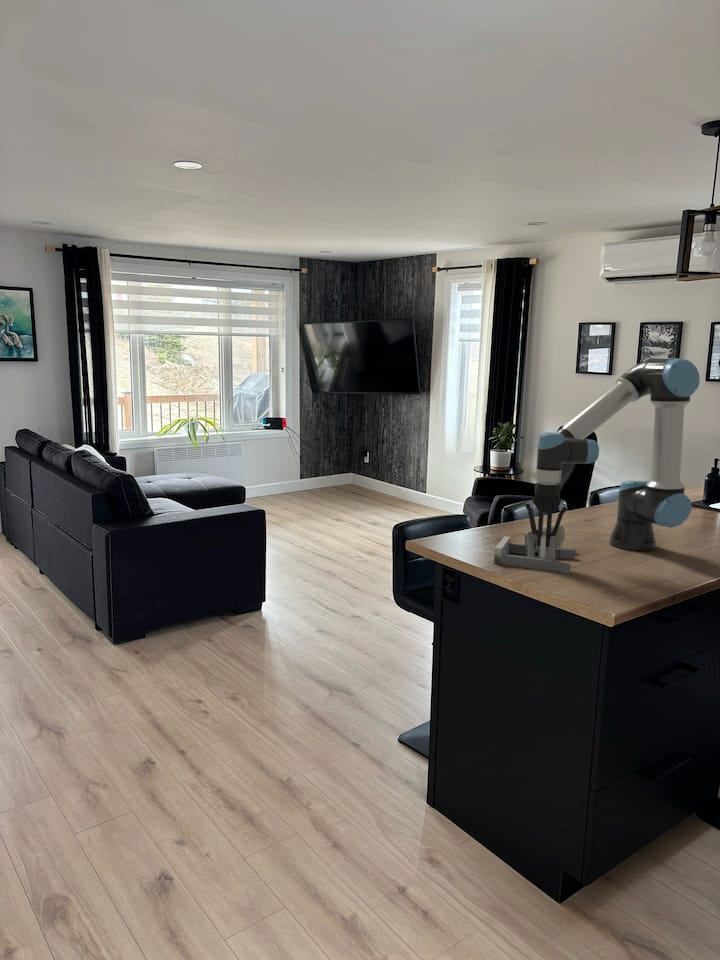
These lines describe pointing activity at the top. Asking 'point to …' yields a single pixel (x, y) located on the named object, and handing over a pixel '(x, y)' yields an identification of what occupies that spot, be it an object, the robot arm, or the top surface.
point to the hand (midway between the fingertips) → (542, 556)
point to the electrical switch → (533, 548)
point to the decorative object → (559, 536)
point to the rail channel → (528, 562)
